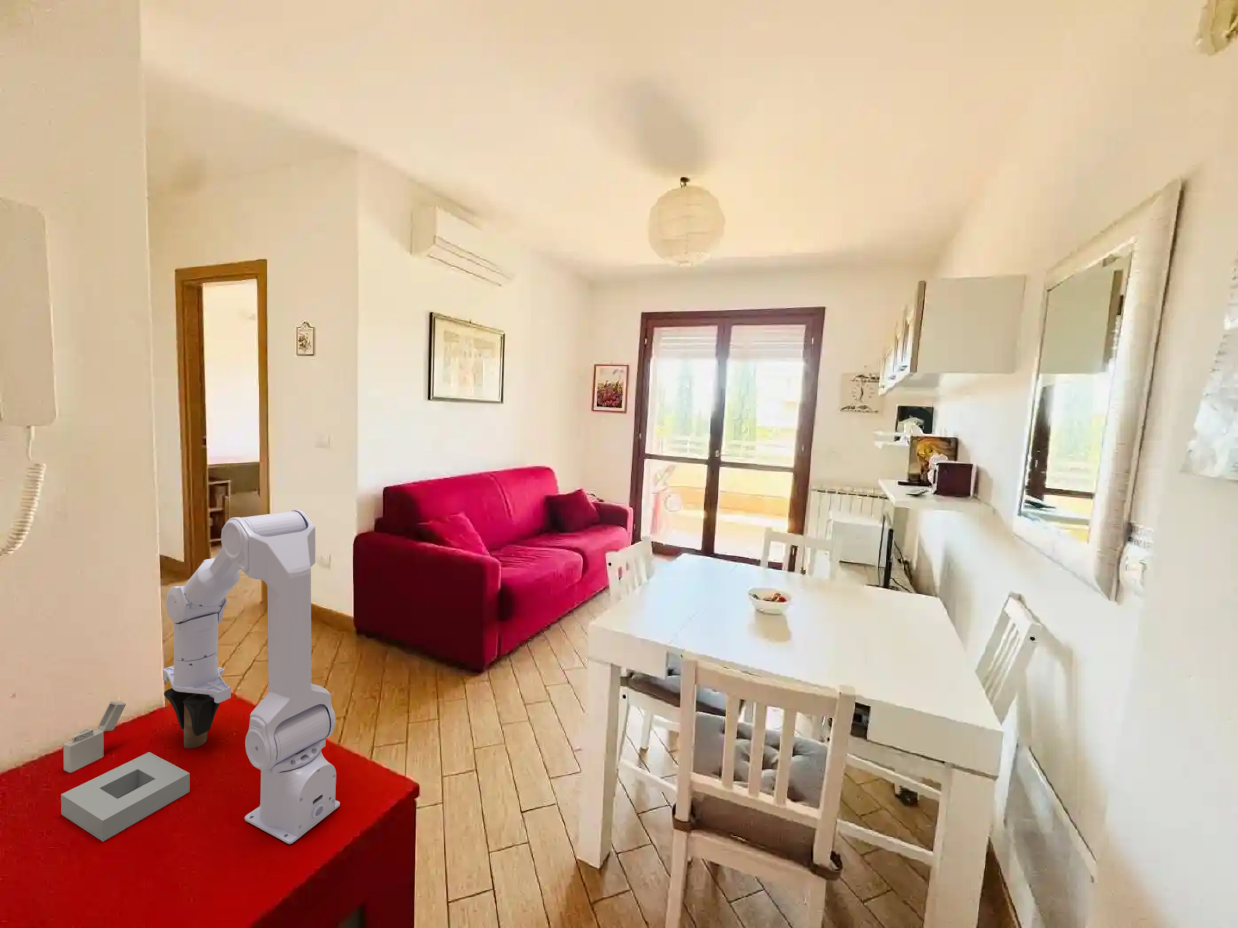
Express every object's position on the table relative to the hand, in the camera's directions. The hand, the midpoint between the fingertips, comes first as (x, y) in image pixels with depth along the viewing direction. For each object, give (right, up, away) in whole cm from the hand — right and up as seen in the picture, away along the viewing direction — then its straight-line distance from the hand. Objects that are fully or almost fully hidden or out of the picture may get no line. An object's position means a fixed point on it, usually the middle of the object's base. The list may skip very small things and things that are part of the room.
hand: (195, 729), depth 87 cm
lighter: (-12, -2, -5) cm, 13 cm away
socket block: (+1, -4, -13) cm, 14 cm away
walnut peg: (0, -2, 0) cm, 2 cm away
